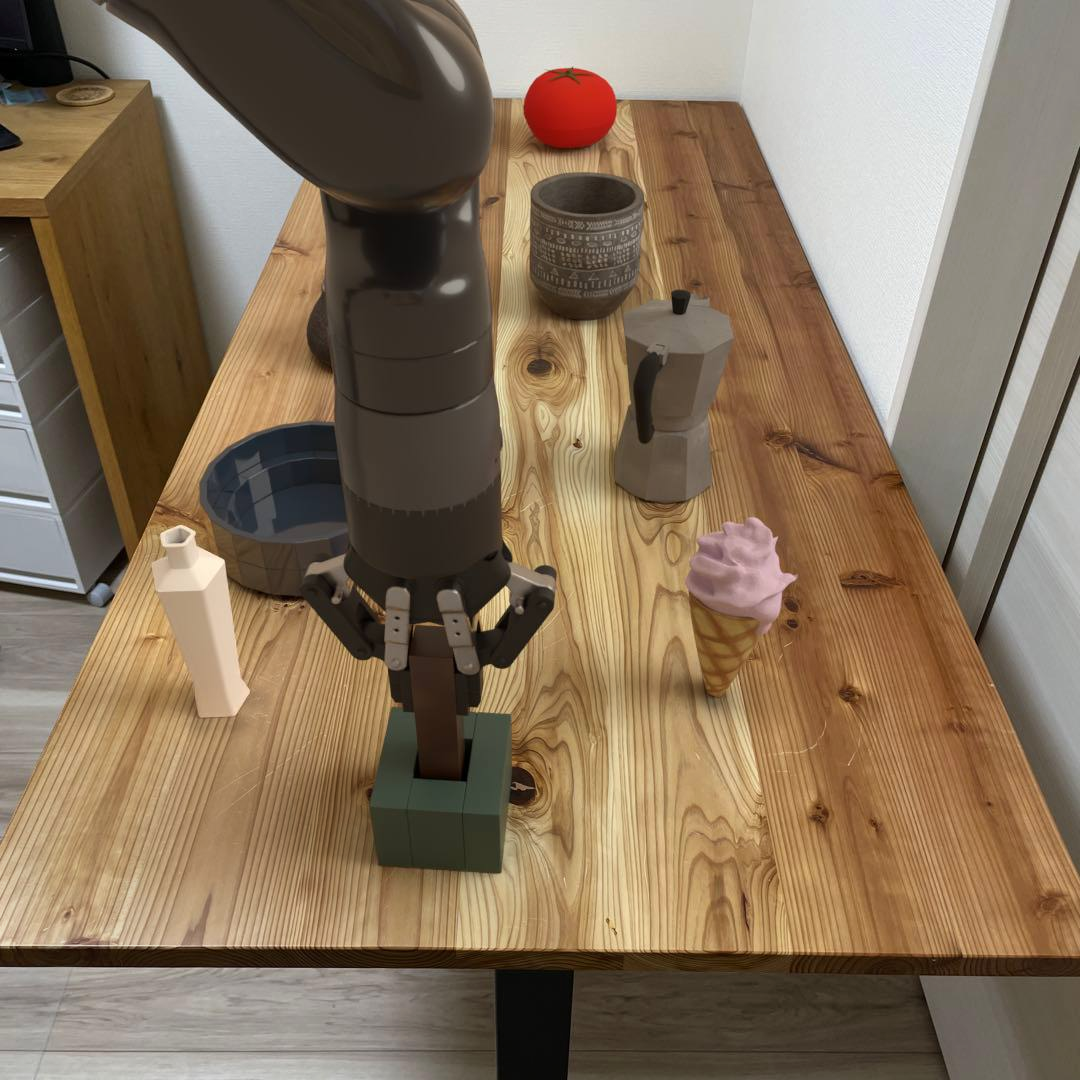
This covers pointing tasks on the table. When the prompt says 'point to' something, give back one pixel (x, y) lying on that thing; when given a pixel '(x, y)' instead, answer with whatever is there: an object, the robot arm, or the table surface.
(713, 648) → the ice cream cone
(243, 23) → the robot arm
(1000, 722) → the table surface
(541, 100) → the tomato
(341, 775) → the table surface
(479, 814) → the holder
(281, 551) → the bowl
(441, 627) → the brown rectangular peg
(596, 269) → the planter
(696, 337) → the coffeepot
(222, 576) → the perfume bottle
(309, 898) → the table surface
